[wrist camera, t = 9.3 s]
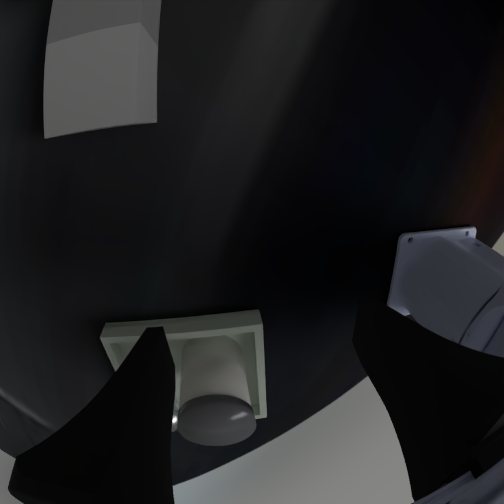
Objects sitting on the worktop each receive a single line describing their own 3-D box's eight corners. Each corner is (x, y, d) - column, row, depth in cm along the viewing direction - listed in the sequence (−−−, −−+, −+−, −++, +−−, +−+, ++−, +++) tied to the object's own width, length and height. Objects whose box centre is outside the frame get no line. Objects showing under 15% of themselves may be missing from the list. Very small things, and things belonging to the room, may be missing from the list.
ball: (181, 386, 24) (180, 418, 21) (189, 408, 25) (189, 438, 22) (144, 388, 24) (139, 418, 20) (154, 409, 25) (151, 438, 22)
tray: (258, 308, 22) (262, 323, 20) (263, 403, 27) (266, 417, 26) (105, 322, 21) (99, 337, 19) (147, 412, 26) (145, 425, 24)
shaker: (241, 329, 22) (255, 403, 16) (244, 373, 24) (256, 442, 18) (175, 334, 21) (169, 409, 15) (186, 377, 23) (185, 447, 17)
